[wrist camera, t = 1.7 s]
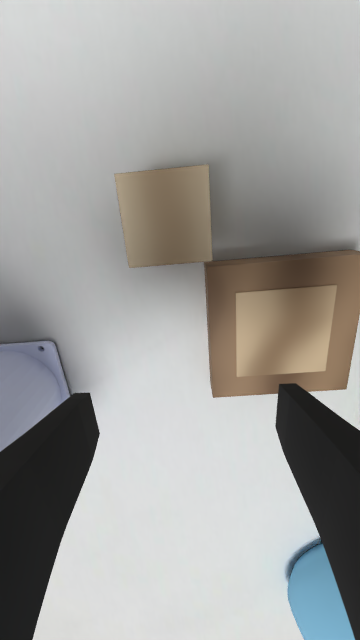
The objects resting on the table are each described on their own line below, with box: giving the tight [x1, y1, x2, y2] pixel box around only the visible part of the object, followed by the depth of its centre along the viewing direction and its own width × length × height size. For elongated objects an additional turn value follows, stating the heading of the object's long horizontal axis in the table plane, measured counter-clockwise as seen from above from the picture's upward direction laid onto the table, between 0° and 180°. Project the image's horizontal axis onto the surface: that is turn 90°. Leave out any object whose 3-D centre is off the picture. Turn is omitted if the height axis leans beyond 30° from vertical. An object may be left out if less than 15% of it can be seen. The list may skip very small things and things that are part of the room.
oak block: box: [114, 164, 212, 268], centre depth 15 cm, size 4×4×6 cm
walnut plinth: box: [204, 250, 360, 398], centre depth 19 cm, size 10×10×2 cm
